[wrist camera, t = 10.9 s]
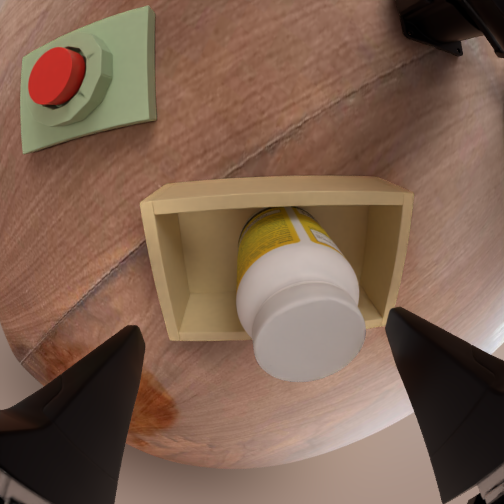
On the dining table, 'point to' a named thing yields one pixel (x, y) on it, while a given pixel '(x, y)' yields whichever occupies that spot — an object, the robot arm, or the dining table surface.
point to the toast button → (56, 76)
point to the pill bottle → (296, 296)
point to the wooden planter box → (229, 228)
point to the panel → (97, 82)
